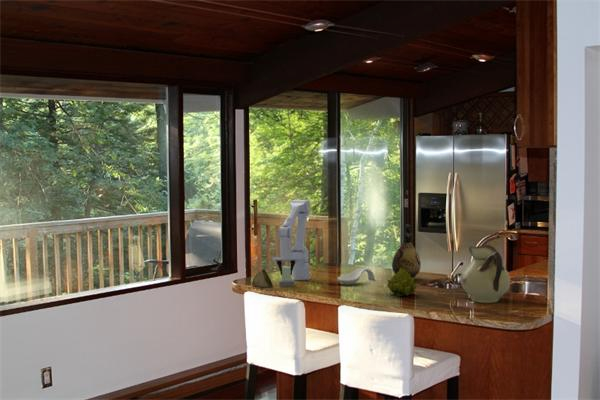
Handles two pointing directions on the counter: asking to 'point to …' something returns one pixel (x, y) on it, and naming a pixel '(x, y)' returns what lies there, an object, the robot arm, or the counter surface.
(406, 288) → the vegetable
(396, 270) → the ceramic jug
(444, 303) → the counter surface
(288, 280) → the trivet
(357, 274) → the spoon rest
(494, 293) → the pitcher
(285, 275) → the block
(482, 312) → the counter surface
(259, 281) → the rock
